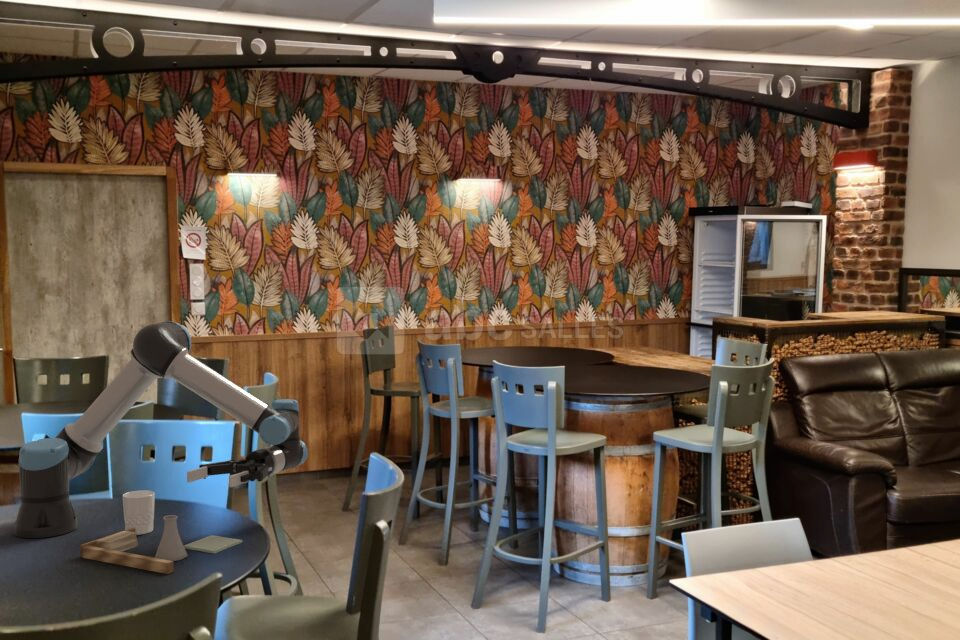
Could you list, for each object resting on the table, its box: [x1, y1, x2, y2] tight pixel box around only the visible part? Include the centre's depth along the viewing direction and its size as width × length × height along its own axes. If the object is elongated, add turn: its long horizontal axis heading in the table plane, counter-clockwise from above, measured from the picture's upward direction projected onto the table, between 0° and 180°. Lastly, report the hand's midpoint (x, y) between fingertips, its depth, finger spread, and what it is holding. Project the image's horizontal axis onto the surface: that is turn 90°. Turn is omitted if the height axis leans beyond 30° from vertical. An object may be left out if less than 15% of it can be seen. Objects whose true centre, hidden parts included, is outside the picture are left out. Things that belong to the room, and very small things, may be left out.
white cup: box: [122, 489, 156, 536], centre depth 240 cm, size 8×8×10 cm
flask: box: [154, 514, 188, 562], centre depth 217 cm, size 7×7×10 cm
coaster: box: [183, 534, 243, 554], centre depth 228 cm, size 10×10×1 cm
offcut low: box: [113, 539, 139, 552], centre depth 224 cm, size 4×9×2 cm, turn 153°
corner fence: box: [79, 528, 174, 575], centre depth 219 cm, size 28×16×3 cm, turn 64°
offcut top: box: [96, 530, 138, 550], centre depth 224 cm, size 4×9×2 cm, turn 159°
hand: (208, 479), depth 228 cm, fingers open, 13 cm apart
